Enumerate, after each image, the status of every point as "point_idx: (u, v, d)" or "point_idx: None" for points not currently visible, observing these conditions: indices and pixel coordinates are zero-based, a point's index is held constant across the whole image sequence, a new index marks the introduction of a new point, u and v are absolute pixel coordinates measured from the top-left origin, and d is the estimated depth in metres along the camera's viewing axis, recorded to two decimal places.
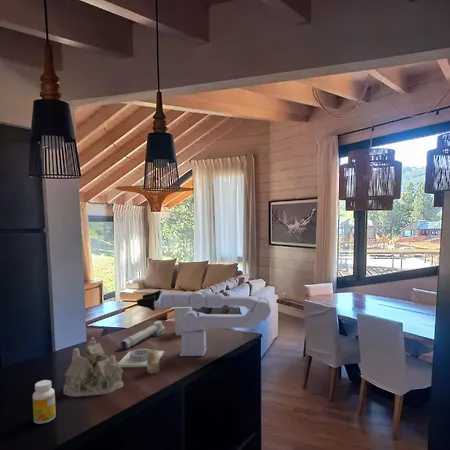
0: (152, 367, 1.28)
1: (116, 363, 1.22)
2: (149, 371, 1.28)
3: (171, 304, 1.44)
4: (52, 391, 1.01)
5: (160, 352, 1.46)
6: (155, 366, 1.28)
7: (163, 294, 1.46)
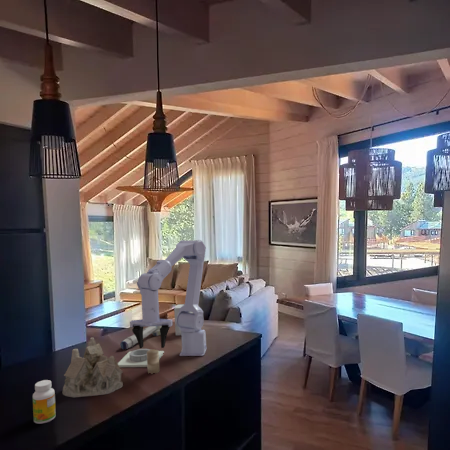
0: (152, 367, 1.28)
1: (115, 363, 1.22)
2: (149, 371, 1.28)
3: (158, 308, 1.31)
4: (52, 391, 1.01)
5: (160, 352, 1.46)
6: (155, 366, 1.28)
7: (152, 321, 1.27)
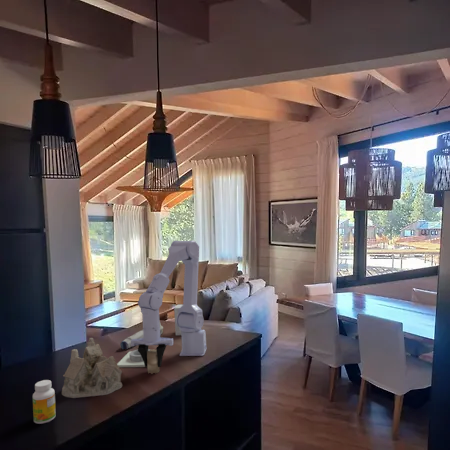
0: (152, 367, 1.28)
1: (115, 364, 1.21)
2: (149, 371, 1.28)
3: (159, 327, 1.31)
4: (52, 391, 1.01)
5: None
6: (155, 366, 1.28)
7: (153, 340, 1.27)
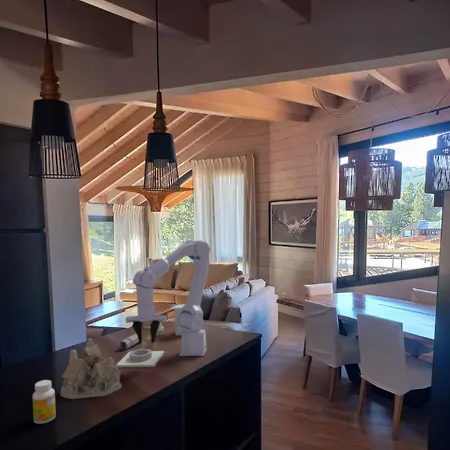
0: (146, 342, 1.32)
1: (114, 364, 1.21)
2: (143, 347, 1.33)
3: (153, 305, 1.35)
4: (52, 391, 1.01)
5: (160, 352, 1.46)
6: (149, 342, 1.33)
7: (147, 316, 1.32)
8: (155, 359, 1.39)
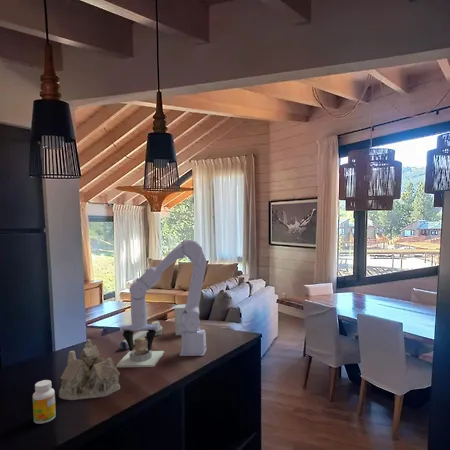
0: (139, 353, 1.40)
1: (113, 365, 1.20)
2: None
3: (146, 314, 1.42)
4: (52, 391, 1.01)
5: (160, 352, 1.46)
6: (142, 352, 1.40)
7: (140, 326, 1.39)
8: (155, 359, 1.39)
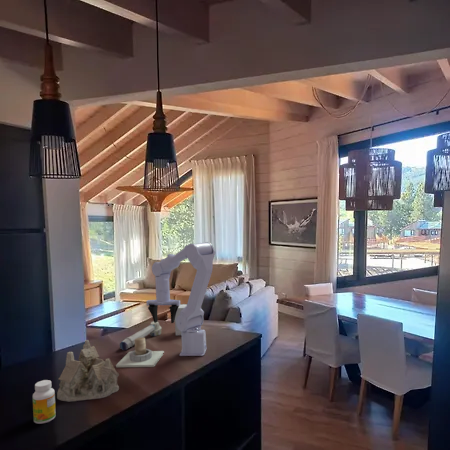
0: (139, 353, 1.40)
1: (111, 366, 1.19)
2: None
3: (169, 291, 1.58)
4: (52, 391, 1.01)
5: (160, 352, 1.46)
6: (142, 352, 1.40)
7: (164, 300, 1.55)
8: (155, 359, 1.39)
